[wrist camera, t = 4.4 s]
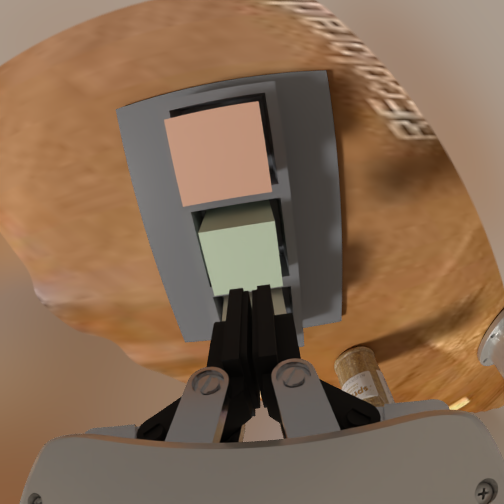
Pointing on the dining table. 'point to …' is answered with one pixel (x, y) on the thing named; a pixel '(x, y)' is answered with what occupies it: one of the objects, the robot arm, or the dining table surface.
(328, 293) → the button panel
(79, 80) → the dining table surface
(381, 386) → the sprinkles bottle
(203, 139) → the terracotta button
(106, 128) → the dining table surface
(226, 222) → the green button
